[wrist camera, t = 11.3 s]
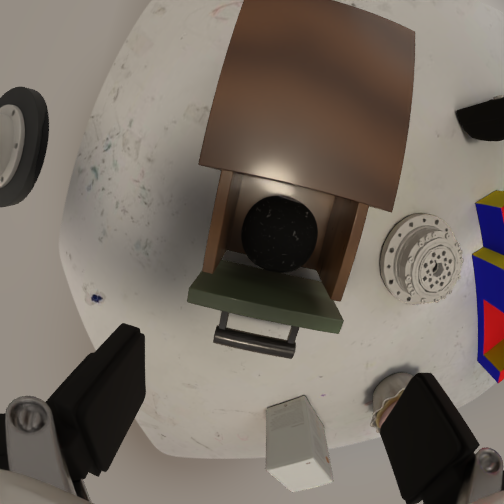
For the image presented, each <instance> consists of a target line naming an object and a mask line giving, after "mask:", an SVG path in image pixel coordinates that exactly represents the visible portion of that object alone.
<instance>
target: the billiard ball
mask: <svg viewBox="0 0 504 504" xmlns="http://www.w3.org/2000/svg"><path fill="white" fill-rule="evenodd" d="M317 237H318V228H317V223H316V220H315V217H314V215H313V214H312V212H311V211H310V210H309V209H308V208H307V207H306V206H305V205H304V204H302V203H301V202H299V201H297V200H295V199H292V198H289V197H285V196H270V197H266V198H264V199H261V200H260V201H258V202H257V203H255V204H254V205H253V206H252V207H251V209H250V210H249V211H248V213H247V215H246V217H245V219H244V222H243V225H242V231H241V240H242V246H243V249H244V251H245V253H246V255H247V256H248V257H249V259H250V260H251V261H252V262H253V263H255V264H256V265H257V266H259V267H261V268H263V269H265V270H268V271H272V272H279V273H284V272H290V271H293V270H296V269H298V268H300V267H301V266H302V265H304V264H305V263H306V262H307V261H308V259H309V258H310V257H311V255H312V253H313V251H314V249H315V246H316V243H317Z"/></svg>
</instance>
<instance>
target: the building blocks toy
mask: <svg viewBox="0 0 504 504" xmlns="http://www.w3.org/2000/svg"><path fill="white" fill-rule="evenodd" d="M475 204H476V208H477V213H478V218H479V223H480V228H481V234H482V240H483V248H481V249H480V250H478V251H477V252H475V253H474V254H472V258H473V265H474V273H475V282H476V293H477V308H478V360H477V361H478V362H479V363H480V364H481V365H482V366H483V367H484V368H485V369H486V371H487V372H488V373H489V374H490V375H491V376H492V377H493V378H494V379H495V380H496V382H497V383H499V382H501V381H502V380H503V379H504V191H497V190H496V191H494V192H493V193H491V194H489V195H488V196H486V197H484V198H483V199H481V200H479V201H478V202H476V203H475Z"/></svg>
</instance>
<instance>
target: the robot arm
mask: <svg viewBox="0 0 504 504" xmlns="http://www.w3.org/2000/svg"><path fill="white" fill-rule="evenodd" d="M24 138H25V124H24V118H23V114H22V112H21V110H20V109H19V108H18V107H17V106H15V105H10V104H8V105H4V106H3V107H1V108H0V188H2V187H4V186H6V185H7V184H8V183H9V182H10V180H11V179H12V177H13V176H14V174H15V172H16V170H17V168H18V165H19V162H20V159H21V155H22V151H23V146H24ZM145 394H146V387H145V336H144V334H142V333H140V329H139V328H137V327H134V326H131V325H128V324H125V323H122V324H121V325H120V326H119V327H118V328H117V329H116V330H115V331H114V332H113V333H112V334H111V335H110V337H109V338H108V339H107V340H106V341H105V342H104V343H103V344H102V345H101V346H100V347H99V348H98V349H97V350H96V352H95V353H90V354H89V355H88V356H87V357H86V358H85V359H84V360H83V361H82V362H81V363H80V364H79V365H78V367H77V368H76V369H75V370H74V371H73V372H72V373H71V374H70V375H69V376H68V377H67V379H66V380H65V381H64V382H63V383H62V384H61V385H60V386H59V387H58V389H57V390H56V391H55V392H54V393H53V394H52V395H51V396H50V398H49V399H48V400H47V401H46V402H44V401H43V400H41V399H39V398H36V397H33V396H22V397H19V398H17V399H14V400H13V401H12V402H11V403H10V404H9V405H8V407H7V409H6V413H5V414H0V504H93V503H92V502H91V500H90V497H89V495H88V492H87V489H86V487H85V484H84V481H83V479H85V478H86V475H87V474H88V472H89V473H92V474H93V475H96V476H99V475H100V473H101V471H104V472H106V471H107V470H108V469H109V466H110V465H111V463H112V461H113V459H114V457H115V455H116V453H117V451H118V449H119V447H120V445H121V443H122V441H123V439H124V437H125V435H126V434H127V431H128V430H129V428H130V426H131V424H132V422H133V420H134V418H135V416H136V414H137V413H138V411H139V409H140V407H141V405H142V403H143V401H144V398H145ZM380 435H381V438H382V440H383V443H384V446H385V449H386V451H387V454H388V457H389V460H390V463H391V466H392V469H393V472H394V475H395V478H396V480H397V484H398V487H399V490H400V493H401V496H402V498H403V499H404V500H405V501H406V504H416V503H419V502H420V501H421V500H423V502H424V503H423V504H504V471H503V461H502V458H501V456H500V455H499V454H498V453H497V452H496V451H495V450H493V449H491V448H482V449H480V450H479V451H478V452H477V453H476V454H474V451H475V450H476V449H477V448H478V446H479V443H478V442H477V440H476V438H475V436H474V435H473V433H472V432H471V430H470V429H469V427H468V426H467V424H466V422H465V421H464V420H463V418H462V416H461V415H460V413H459V412H458V410H457V409H456V407H455V406H454V404H453V403H452V401H451V400H450V398H449V397H448V396H447V394H446V393H445V391H444V390H443V388H442V387H441V386H440V384H439V383H438V381H437V380H436V379H435V377H434V376H433V375H432V374H431V373H417V374H416V375H415V376H414V377H412V378H411V379H410V381H409V383H408V385H407V386H406V388H405V390H404V391H403V393H402V395H401V396H400V398H399V399H398V401H397V403H396V404H395V406H394V407H393V409H392V410H391V412H390V413H389V415H388V416H387V418H386V419H385V421H384V422H383V424H382V425H381V428H380Z"/></svg>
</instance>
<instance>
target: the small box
mask: <svg viewBox="0 0 504 504" xmlns="http://www.w3.org/2000/svg"><path fill="white" fill-rule="evenodd" d="M266 471H267V472H268V473H270V474H271V475H272V476H273V477H274V478H275V479H277V480H278V481H279V482H280V483H281V484H282V485H284V486H285V487H286V488H287V489H288V490H290V491H291V492H292V493H293V492H297V491H303V490H307V489H311V488H315V487H319V486H322V485H326V484H329V483H332V482H333V481H334V480H333V474H332V468H331V463H330V457H329V452H328V447H327V441H326V436H325V430H324V426H323V425H322V423H321V421H320V420H319V418H318V417H317V415H316V413H315V412H314V410H313V408H312V407H311V405H310V404H309V402H308V400H307V399H306V397H305V396H302V397H299V398H296V399H294V400H291V401H288V402H285V403H282V404H279V405H276V406H273V407H270V408H267V413H266Z"/></svg>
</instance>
